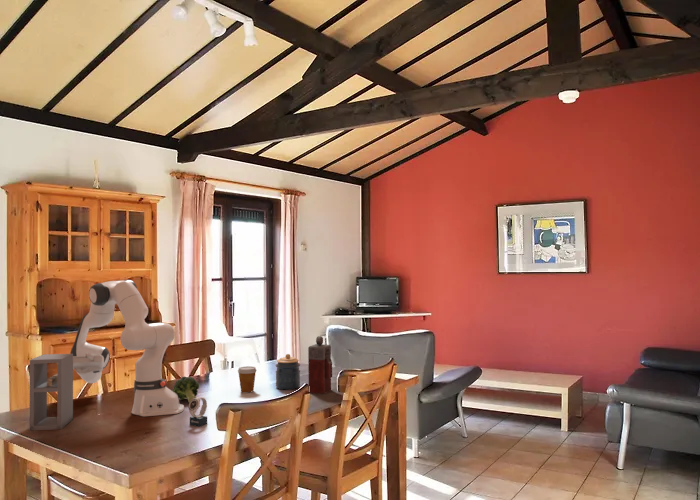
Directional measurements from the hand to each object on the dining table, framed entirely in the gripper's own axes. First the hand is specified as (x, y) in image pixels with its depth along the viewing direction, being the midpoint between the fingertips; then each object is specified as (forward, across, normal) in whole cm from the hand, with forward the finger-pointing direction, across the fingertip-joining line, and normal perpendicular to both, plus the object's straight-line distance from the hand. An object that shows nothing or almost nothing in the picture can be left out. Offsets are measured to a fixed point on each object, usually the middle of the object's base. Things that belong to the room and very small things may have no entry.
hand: (76, 355), depth 269 cm
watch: (+20, +59, +41) cm, 75 cm away
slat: (+15, 0, +17) cm, 23 cm away
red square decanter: (-25, +115, +15) cm, 118 cm away
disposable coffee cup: (-30, +77, +12) cm, 83 cm away
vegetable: (-16, +49, +19) cm, 55 cm away
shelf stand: (+11, -1, +34) cm, 36 cm away
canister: (-35, +98, +9) cm, 104 cm away
